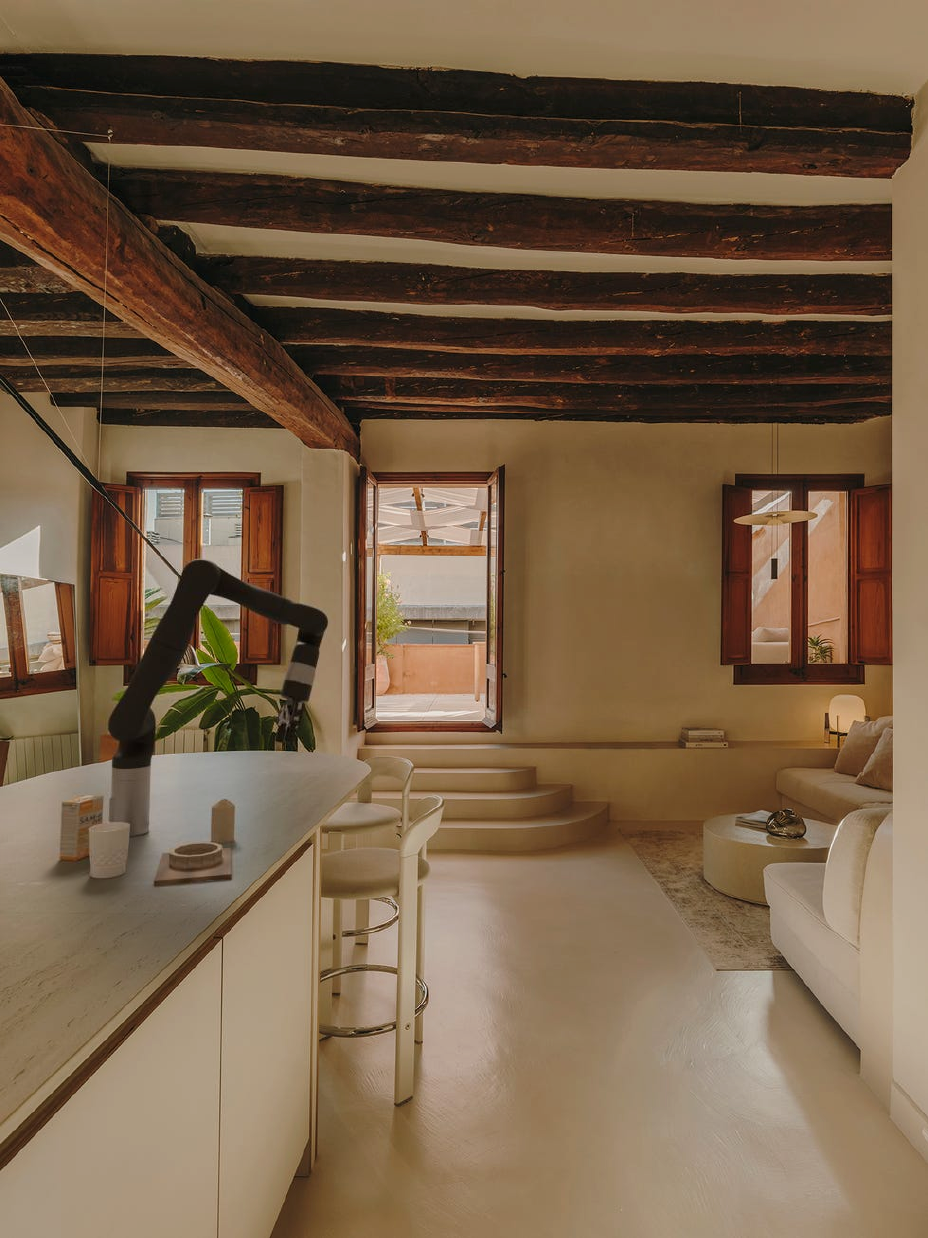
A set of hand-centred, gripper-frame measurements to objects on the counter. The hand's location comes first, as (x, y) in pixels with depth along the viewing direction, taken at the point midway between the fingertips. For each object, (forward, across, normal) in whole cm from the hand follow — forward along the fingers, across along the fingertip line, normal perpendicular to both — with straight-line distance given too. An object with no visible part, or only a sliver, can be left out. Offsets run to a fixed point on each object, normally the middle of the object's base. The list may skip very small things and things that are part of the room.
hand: (283, 742), depth 182 cm
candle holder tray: (+31, +14, -16) cm, 38 cm away
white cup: (+36, +10, -32) cm, 49 cm away
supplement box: (+35, -7, -37) cm, 52 cm away
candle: (+27, -5, -7) cm, 28 cm away
